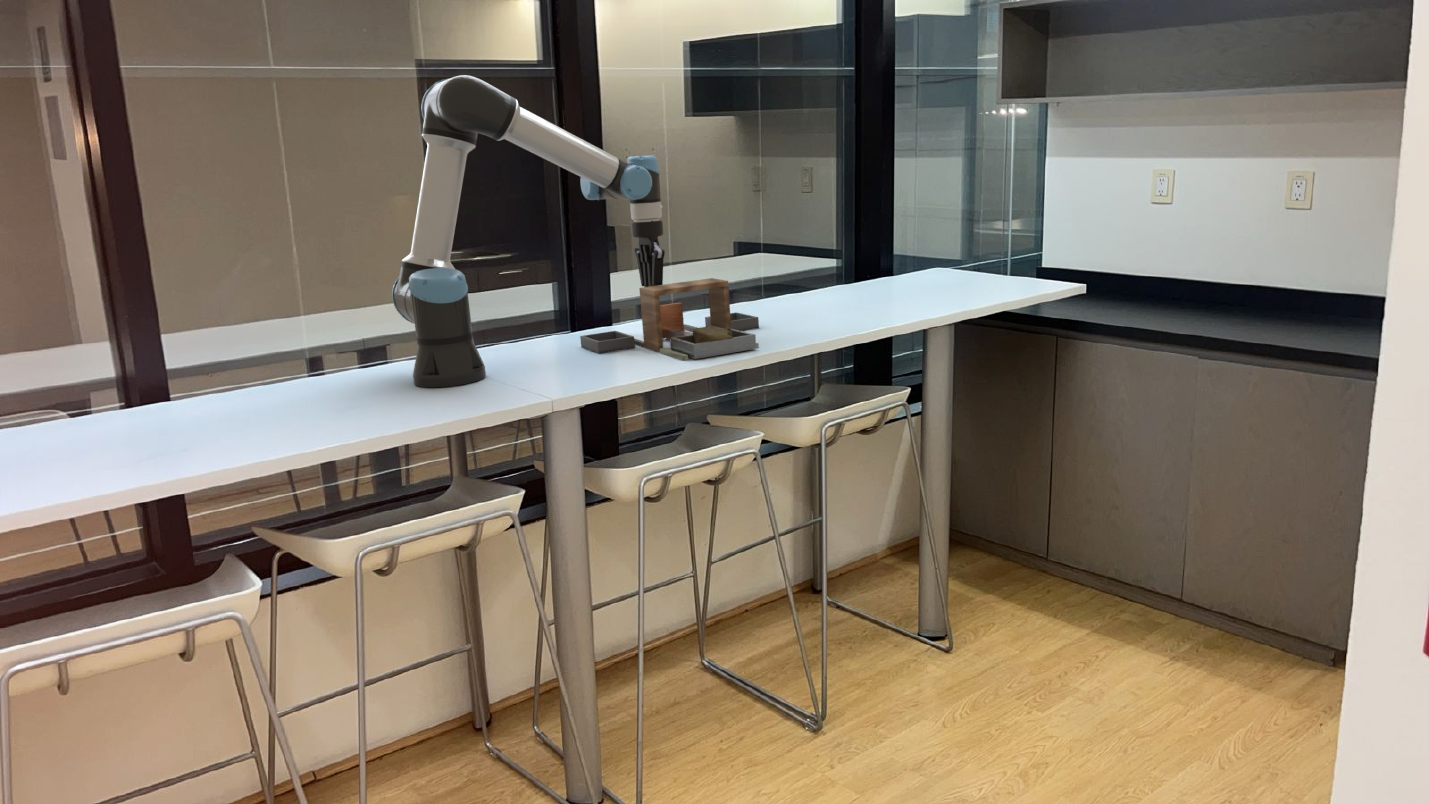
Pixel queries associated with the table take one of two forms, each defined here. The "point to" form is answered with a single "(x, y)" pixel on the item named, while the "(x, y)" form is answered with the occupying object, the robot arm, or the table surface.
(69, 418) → the table surface
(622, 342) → the tray
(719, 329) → the stone block
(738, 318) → the pit tray far
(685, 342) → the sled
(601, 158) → the robot arm
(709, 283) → the tunnel
